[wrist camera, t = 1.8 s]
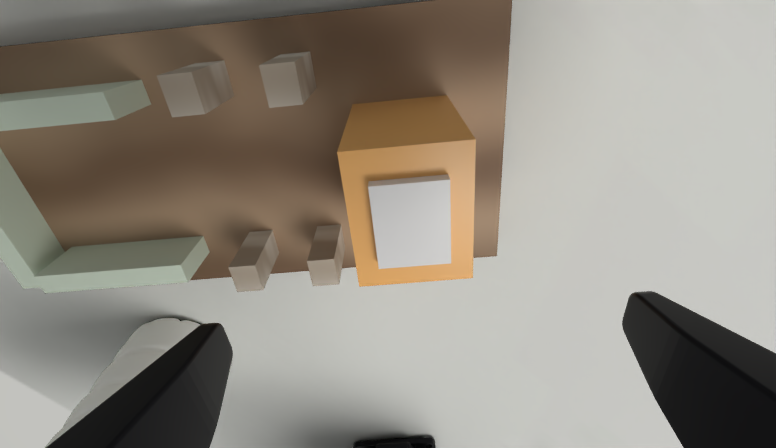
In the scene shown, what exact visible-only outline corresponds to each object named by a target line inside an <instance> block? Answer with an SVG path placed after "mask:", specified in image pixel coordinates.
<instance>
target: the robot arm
mask: <svg viewBox="0 0 776 448" xmlns="http://www.w3.org/2000/svg"><path fill="white" fill-rule="evenodd" d="M622 325H623V330H624V333H625V335H626V337H627V339H628V342H629V344H630V346H631V348H632V350H633V352H634V355H635V357H636V359H637V361H638V363H639V366H640V368H641V370H642V372H643V374H644V376H645V379H646V381H647V383H648V385H649V387H650V389H651V391H652V393H653V395H654V397H655V399H656V401H657V403H658V405H659V406H660V408H661V410H662V412H663V413H664V415H665V417H666V418H667V420H668V422H669V424H670V425H671V427H672V429H673V430H674V432H675V434H676V435H677V437H678V439H679V441H680V442H681V444H682V446H683V447H684V448H776V353H774V352H772V351H770V350H768V349H766V348H764V347H762V346H760V345H758V344H756V343H754V342H752V341H750V340H748V339H746V338H744V337H742V336H740V335H738V334H736V333H734V332H732V331H731V330H729V329H727V328H725V327H723V326H721V325H719V324H717V323H715V322H713V321H711V320H709V319H707V318H705V317H703V316H701V315H699V314H697V313H695V312H693V311H691V310H689V309H687V308H685V307H683V306H681V305H679V304H677V303H675V302H673V301H671V300H670V299H668V298H666V297H664V296H662V295H660V294H658V293H655V292H652V291H646V292H635V293H632V294H631V295H630V297H629V299H628V303H627V306H626V310H625V313H624V317H623V321H622ZM232 356H233V351H232V347H231V344H230V342H229V340H228V337H227V335H226V333H225V330H224V328H223V326H222V325H221V324H220V323H208V324H202V325H200V326H198V327H197V328H196V329H194V330H193V331H192V332H191V333H189V334H188V335H187V336H186V337H184V338H183V339H182V340H180V341H179V342H178V343H177V344H175V345H174V346H173V347H172V348H170V349H169V350H168V351H167V352H165V353H164V354H163V355H162V356H160V357H159V358H158V359H157V360H155V361H154V362H153V363H152V364H150V365H149V366H148V367H147V368H145V369H144V370H143V371H141V372H140V373H139V374H138V375H136V376H135V377H134V378H133V379H131V380H130V381H129V382H128V383H126V384H125V385H124V386H123V387H121V388H120V389H119V390H118V391H116V392H115V393H114V394H113V395H111V396H110V397H109V398H108V399H106V400H105V401H104V402H102V403H101V404H100V405H99V406H97V407H96V408H95V409H94V410H92V411H91V412H90V413H89V414H87V415H86V416H85V417H84V418H82V419H81V420H80V421H79V422H77V423H76V424H75V425H74V426H72V427H71V428H70V429H68V430H67V431H66V432H65V433H63V434H62V435H61V436H60V437H58V438H57V439H56V440H55V441H53V442H52V443H51V444H50V445H48V446H47V447H46V448H209V447H210V444H211V441H212V438H213V435H214V432H215V429H216V426H217V422H218V418H219V415H220V410H221V406H222V401H223V397H224V393H225V388H226V384H227V380H228V375H229V371H230V366H231V362H232ZM353 448H435V440H434V439H433V438H411V439H394V440H377V441H360V442H356V443H354V446H353Z"/></svg>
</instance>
